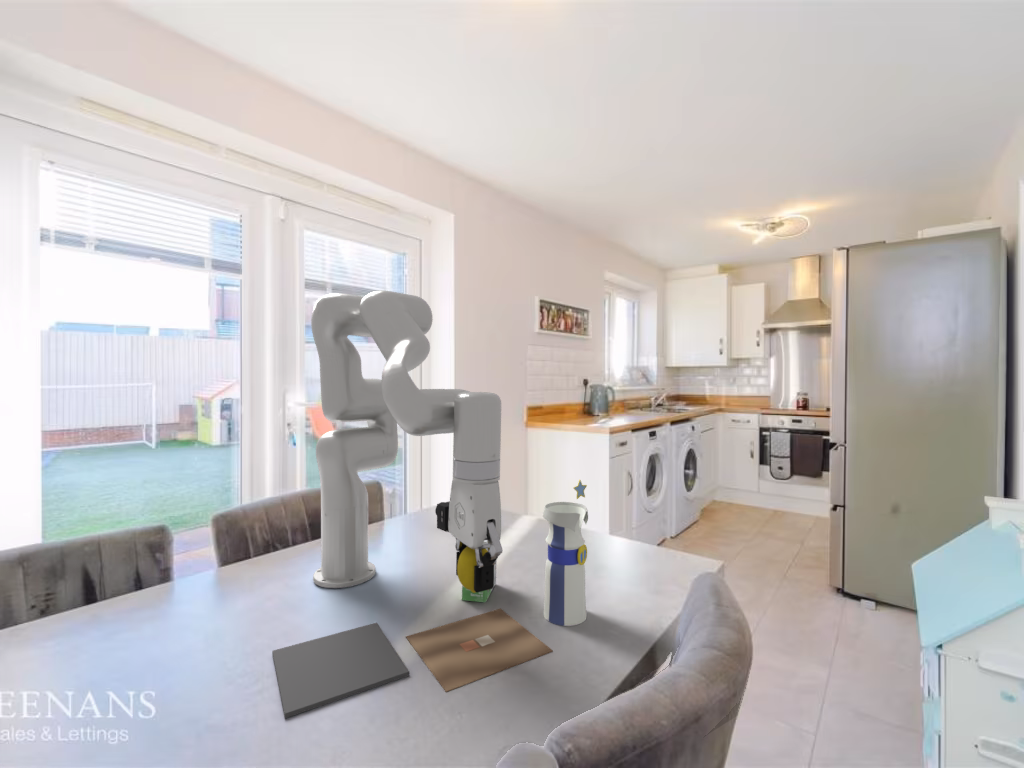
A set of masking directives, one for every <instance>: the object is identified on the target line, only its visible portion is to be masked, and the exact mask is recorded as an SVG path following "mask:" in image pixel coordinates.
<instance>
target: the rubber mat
mask: <svg viewBox="0 0 1024 768" xmlns="http://www.w3.org/2000/svg"><path fill="white" fill-rule="evenodd" d="M271 655H272V660H273V665H274V669H275V674H276V681H277V685H278V690H279V695H280V701H281V706H282V710H283V715H284V719H287V718H291V717H292V716H296V715H299V714H301V713H305V712H307V711H310V710H313V709H316V708H319V707H322V706H324V705H327V704H331V703H333V702H336V701H339V700H343V699H346V698H348V697H351V696H353V695H356V694H359V693H362V692H366V691H368V690H371V689H374V688H377V687H380V686H383V685H385V684H388V683H392V682H395V681H398V680H401V679H403V678H406V677H409V676H410V671H409V669H408V667H407V666H406V664H405V662H404V661H403V660H402V658H401V657H400V655H399V654H398V652H397V651H396V649H395V648H394V646H393V645H392V643H391V642H390V640H389V638H388V637H387V635H386V634H385V633H384V631H383V629H382V628H381V626H380V625H379V623H378V622H374V623H370V624H366V625H363V626H359V627H355V628H351V629H347V630H344V631H340V632H337V633H333V634H330V635H325V636H321V637H317V638H315V639H311V640H307V641H304V642H299V643H296V644H292V645H288V646H284V647H281V648H277V649H273V650H272V654H271Z"/></svg>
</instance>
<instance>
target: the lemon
mask: <svg viewBox="0 0 1024 768" xmlns="http://www.w3.org/2000/svg"><path fill="white" fill-rule="evenodd" d="M486 552H488V551H487V550H486V549H482V556H484V554H485V553H486ZM476 565H477V561H476V553H475V549H471V548H469V547H468V546H467V547H466V548H465V549H464V550H463V551H462V552H461V554H460V556H459V560H458V565H457V573H458V576H457V578H458V581H459V582H460V584H461V586H462V585H463V586H464V587H465V588H467V589H469V590H471V591H472V592H473V593H476V592H475V591H474V566H476Z"/></svg>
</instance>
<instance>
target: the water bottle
mask: <svg viewBox="0 0 1024 768" xmlns="http://www.w3.org/2000/svg"><path fill="white" fill-rule="evenodd" d="M587 486H588V485H587V484H583V483H582V481H581V479H579V480H578V482H577V485H575V486H574V487H573V489H574V491H576V500H578V499H580V498H581V497H583V498H586V493H585V490H586V489H587ZM588 511H589V510H588V508H587V506H586V505H583V504H582V503H577V502H571V501H556V502H555V501H554V502H550V503H547V504H546V505H544V509H543V512H542V517H543V519H544V520H545V521H547V522H548V528H549V529H548V535H547V536H546V538H545V543H546V544H547V558H546V561H545V567H544V599H543V600H544V601H543V613H542V614H543V617H544V619H545V620H546V621H548V622H550V623H551V624H553V625H557V626H562V627H563V626H564V627H570V626H571V627H572V626H577V625H580V624H582V623H584V622H585V621H586V619H587V601H586V600H587V599H586V567H585V566H586V565H585V563H586V562H587V557H588V548H587V545H586V544H585V543H586V542H585V541H586V540H585V539H584V537H583V535H582V525H583V523H585V525H587V523H588V520H589V513H588Z"/></svg>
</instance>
